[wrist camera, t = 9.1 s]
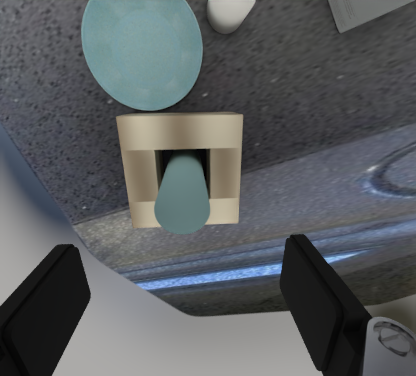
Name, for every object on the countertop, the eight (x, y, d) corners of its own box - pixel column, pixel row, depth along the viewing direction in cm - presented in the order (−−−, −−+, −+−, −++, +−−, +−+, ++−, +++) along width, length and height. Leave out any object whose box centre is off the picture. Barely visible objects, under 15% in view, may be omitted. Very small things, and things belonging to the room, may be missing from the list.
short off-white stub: (245, -12, 23) (259, -41, 18) (243, 34, 24) (256, 18, 20) (206, -13, 23) (210, -43, 18) (206, 33, 24) (211, 18, 19)
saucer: (218, 79, 26) (221, 78, 24) (132, 127, 27) (127, 129, 25) (166, -41, 22) (164, -56, 20) (66, 21, 23) (53, 14, 21)
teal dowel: (200, 145, 28) (210, 183, 15) (201, 175, 30) (210, 233, 17) (168, 146, 28) (151, 185, 15) (170, 176, 30) (156, 235, 17)
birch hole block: (231, 111, 27) (243, 114, 22) (229, 201, 32) (238, 222, 26) (131, 113, 26) (115, 116, 21) (143, 205, 31) (132, 228, 25)
